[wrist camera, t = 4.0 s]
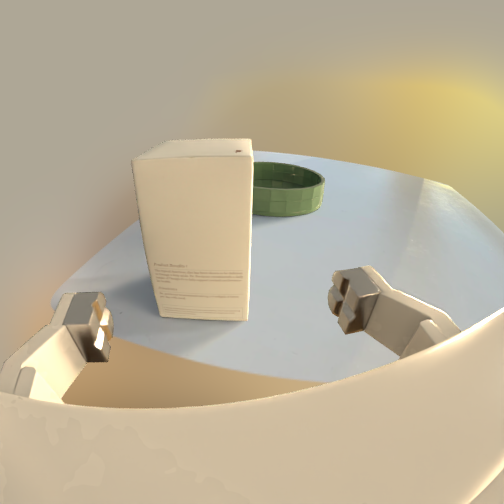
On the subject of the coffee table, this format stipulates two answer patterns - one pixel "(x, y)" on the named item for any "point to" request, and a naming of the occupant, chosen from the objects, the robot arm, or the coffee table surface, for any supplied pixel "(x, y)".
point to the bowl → (285, 189)
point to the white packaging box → (197, 225)
